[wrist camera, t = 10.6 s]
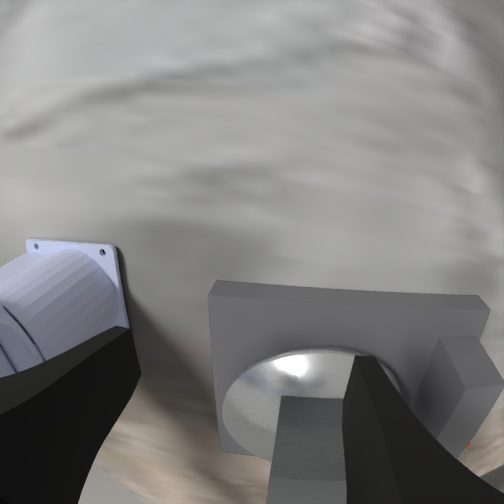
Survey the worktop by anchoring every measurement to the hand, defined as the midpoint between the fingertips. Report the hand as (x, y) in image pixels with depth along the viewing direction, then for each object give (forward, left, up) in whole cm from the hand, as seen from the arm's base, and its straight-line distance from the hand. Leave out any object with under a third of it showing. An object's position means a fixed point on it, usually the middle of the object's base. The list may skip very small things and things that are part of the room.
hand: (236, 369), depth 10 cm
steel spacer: (+4, -10, -6) cm, 12 cm away
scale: (+6, -10, -10) cm, 16 cm away
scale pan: (+4, -10, -7) cm, 13 cm away
